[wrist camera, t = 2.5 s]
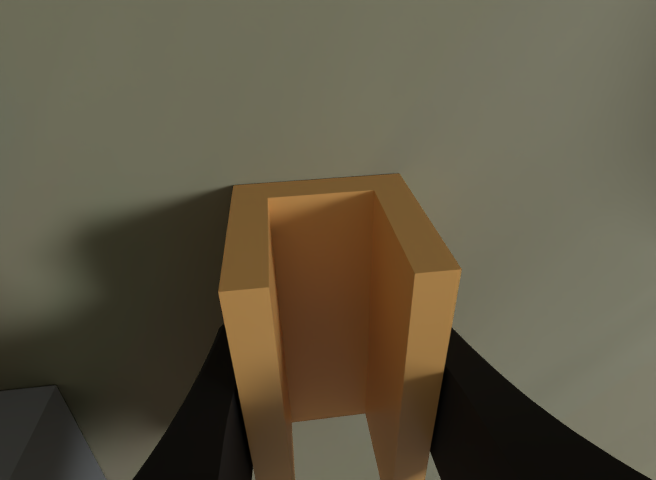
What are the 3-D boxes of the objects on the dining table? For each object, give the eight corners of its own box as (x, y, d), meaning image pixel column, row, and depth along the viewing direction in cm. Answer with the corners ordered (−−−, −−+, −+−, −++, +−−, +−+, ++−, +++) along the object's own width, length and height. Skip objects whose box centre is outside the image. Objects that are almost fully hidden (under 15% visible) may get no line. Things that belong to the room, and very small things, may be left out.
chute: (384, 390, 15) (418, 513, 12) (266, 404, 15) (266, 536, 11) (399, 173, 11) (461, 268, 7) (233, 185, 10) (218, 292, 7)
